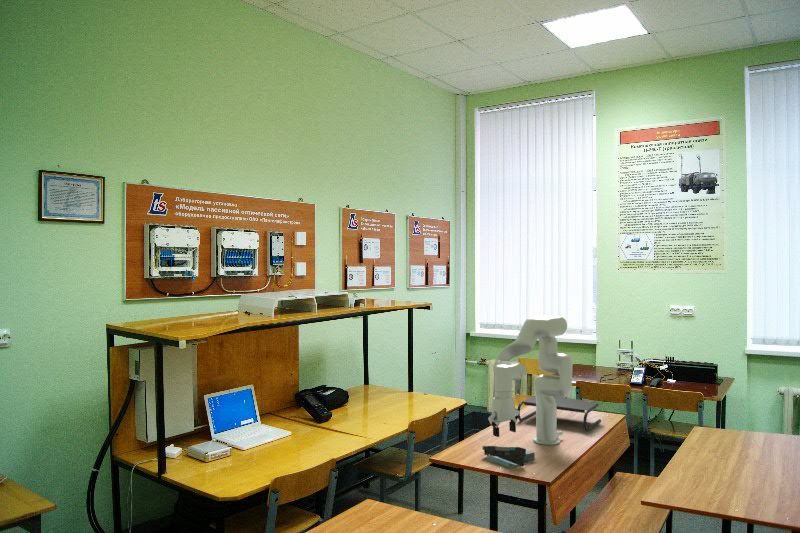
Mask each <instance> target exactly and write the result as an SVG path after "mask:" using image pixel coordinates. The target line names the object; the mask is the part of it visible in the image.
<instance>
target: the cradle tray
mask: <svg viewBox="0 0 800 533" xmlns="http://www.w3.org/2000/svg"><path fill="white" fill-rule="evenodd" d="M486 461H489V462H492V463H494V464H496V465H499V466H501V467H505V468H507V469H510V468H515V467H517V466H520V465H519V464H518V463H517V462H515V463H513V462H514V460H513V462H512V461H511V460H506V459H504V458H502V457H501V456H500V457H498V456H490V455H486Z"/></svg>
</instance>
